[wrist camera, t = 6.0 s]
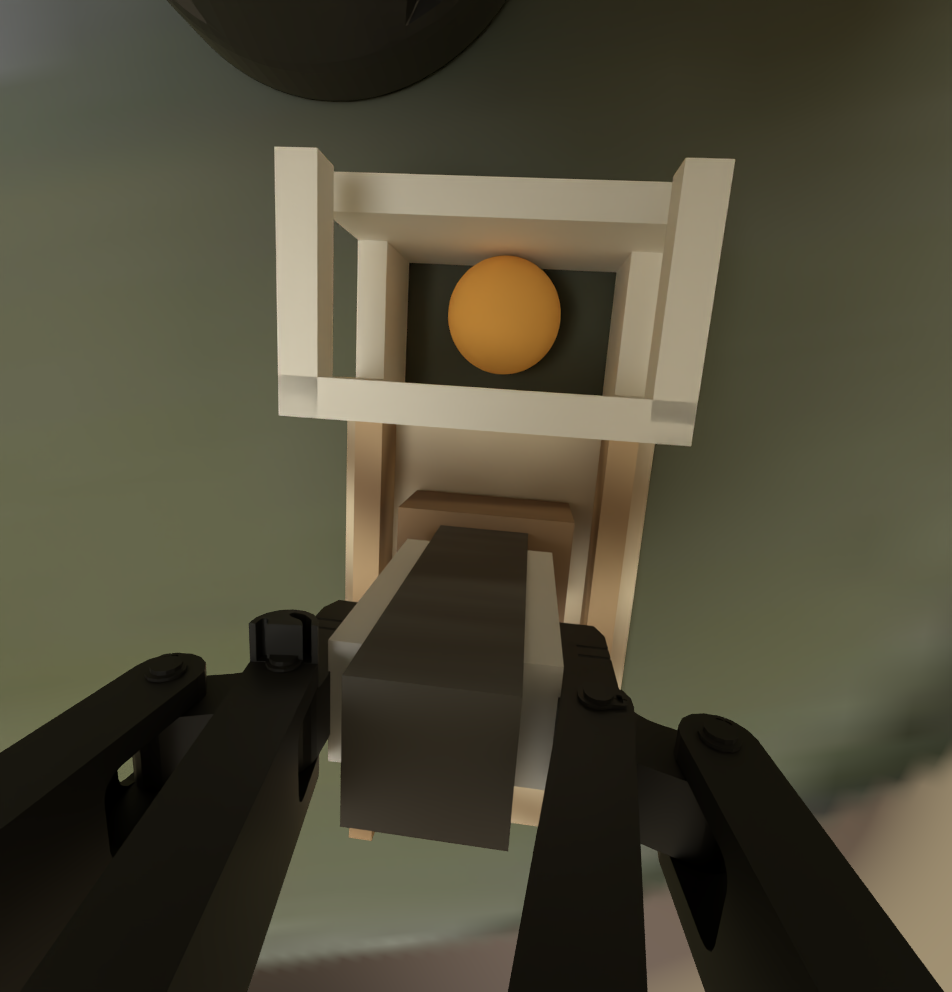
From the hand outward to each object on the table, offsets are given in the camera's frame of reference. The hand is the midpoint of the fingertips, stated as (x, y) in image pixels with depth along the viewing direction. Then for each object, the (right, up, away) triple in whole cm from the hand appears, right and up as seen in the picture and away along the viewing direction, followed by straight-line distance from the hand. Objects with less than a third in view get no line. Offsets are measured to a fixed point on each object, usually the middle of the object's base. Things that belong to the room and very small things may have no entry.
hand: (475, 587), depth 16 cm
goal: (+1, +9, +4) cm, 10 cm away
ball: (+1, +9, +2) cm, 10 cm away
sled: (+1, +1, +5) cm, 5 cm away
